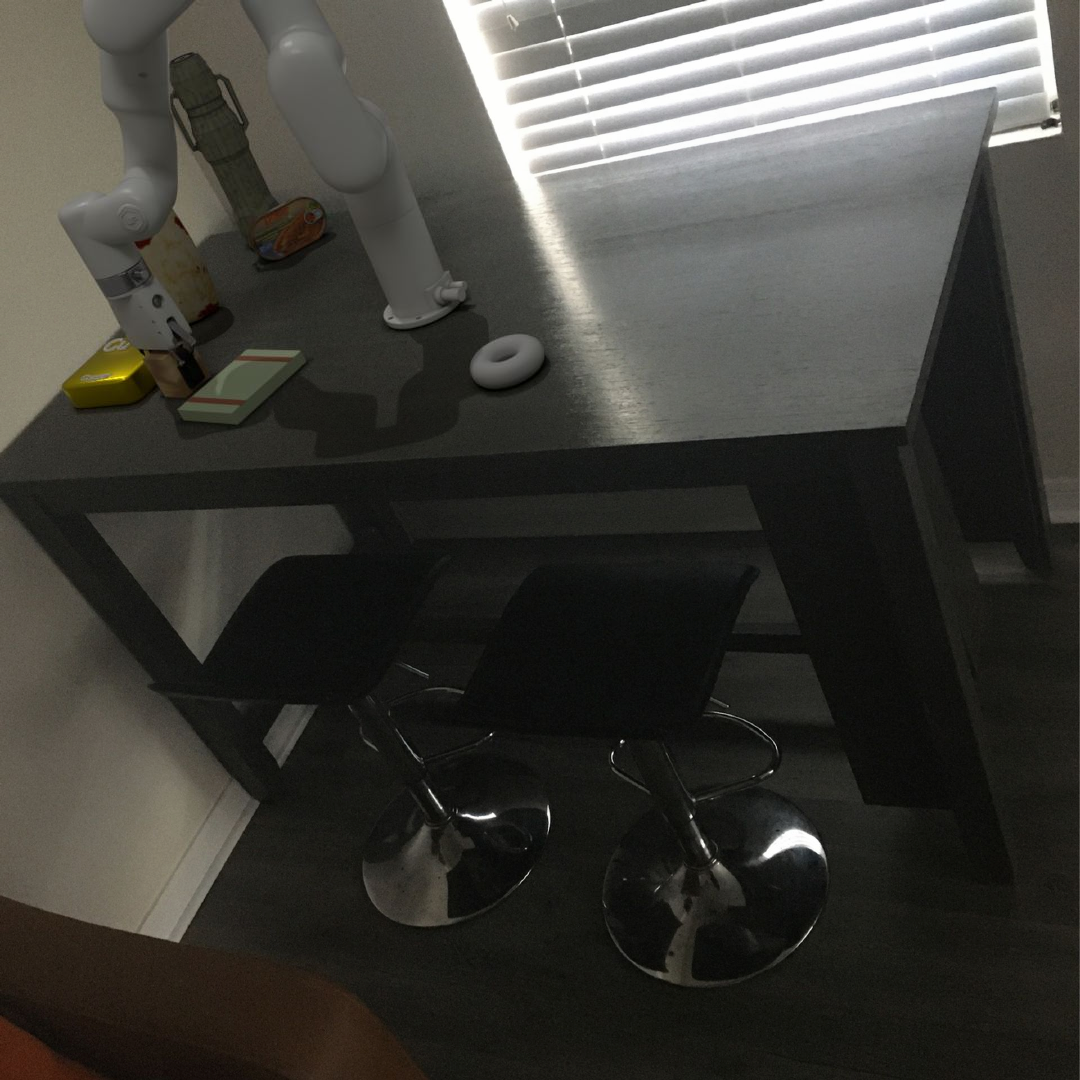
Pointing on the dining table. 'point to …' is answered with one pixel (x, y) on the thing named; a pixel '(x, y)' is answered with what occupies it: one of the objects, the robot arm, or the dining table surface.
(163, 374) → the block
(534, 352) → the donut
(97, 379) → the element tile
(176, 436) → the dining table surface
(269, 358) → the towel
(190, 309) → the food model
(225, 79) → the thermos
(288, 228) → the tin
